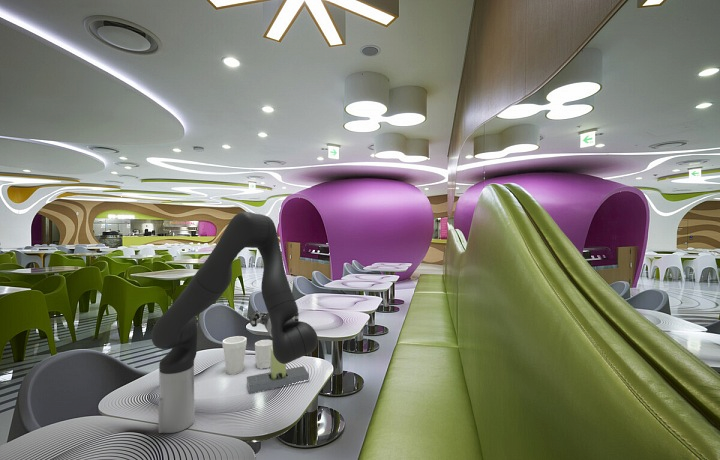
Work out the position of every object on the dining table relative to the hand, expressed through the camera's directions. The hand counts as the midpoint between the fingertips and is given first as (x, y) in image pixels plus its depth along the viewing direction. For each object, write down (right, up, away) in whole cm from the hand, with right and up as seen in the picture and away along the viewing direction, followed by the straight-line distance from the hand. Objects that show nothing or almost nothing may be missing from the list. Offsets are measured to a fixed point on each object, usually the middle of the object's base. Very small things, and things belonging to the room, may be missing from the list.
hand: (270, 312), depth 108 cm
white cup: (-12, -32, +35) cm, 49 cm away
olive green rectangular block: (-2, -31, +19) cm, 37 cm away
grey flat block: (-2, -32, +19) cm, 37 cm away
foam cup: (-23, -32, +30) cm, 50 cm away
